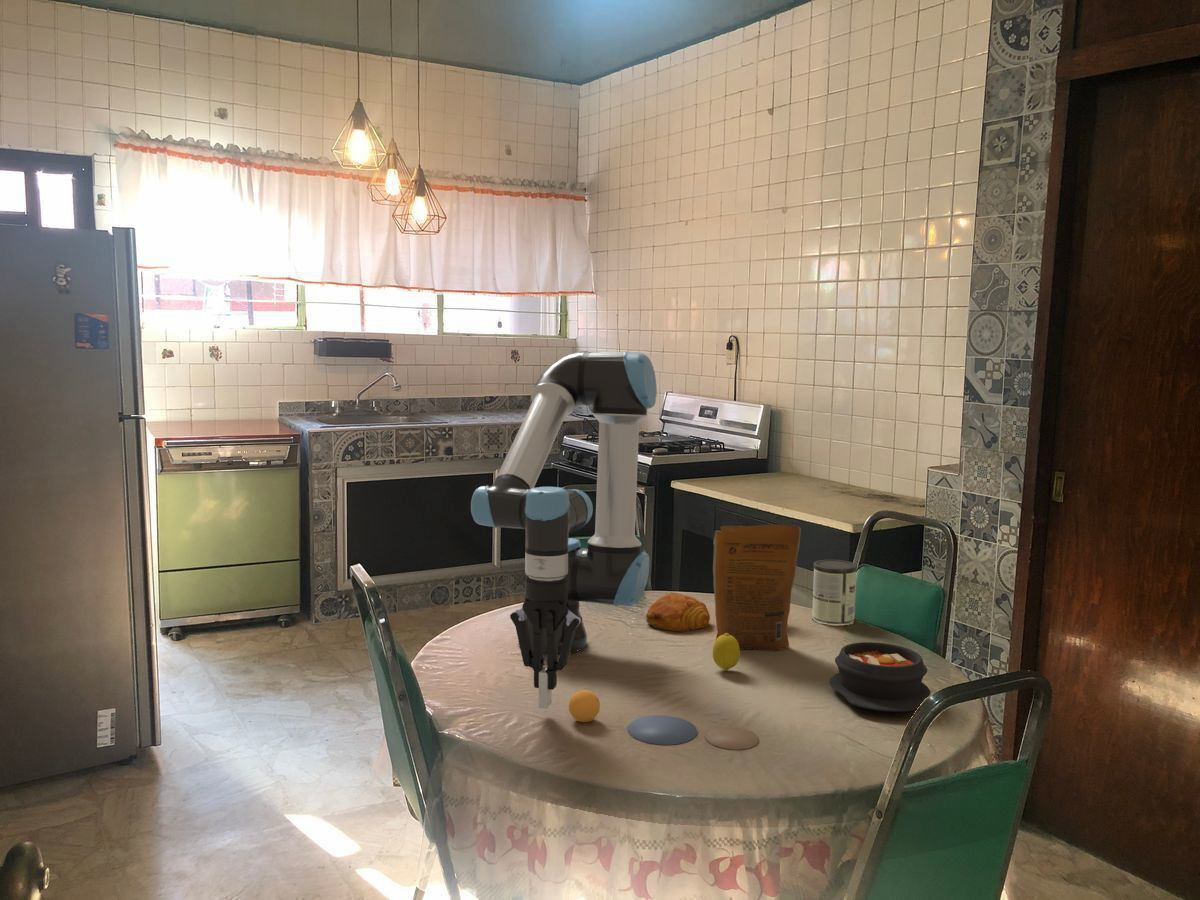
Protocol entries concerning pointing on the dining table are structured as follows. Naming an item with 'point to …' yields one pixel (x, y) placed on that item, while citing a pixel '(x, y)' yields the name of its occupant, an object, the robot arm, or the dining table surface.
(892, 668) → the casserole
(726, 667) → the lemon
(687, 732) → the disc
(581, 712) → the ball
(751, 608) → the pancake mix bag
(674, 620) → the croissant
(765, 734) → the dining table surface
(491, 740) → the dining table surface
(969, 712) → the dining table surface
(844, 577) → the coffee can
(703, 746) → the dining table surface
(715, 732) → the disc
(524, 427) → the robot arm
